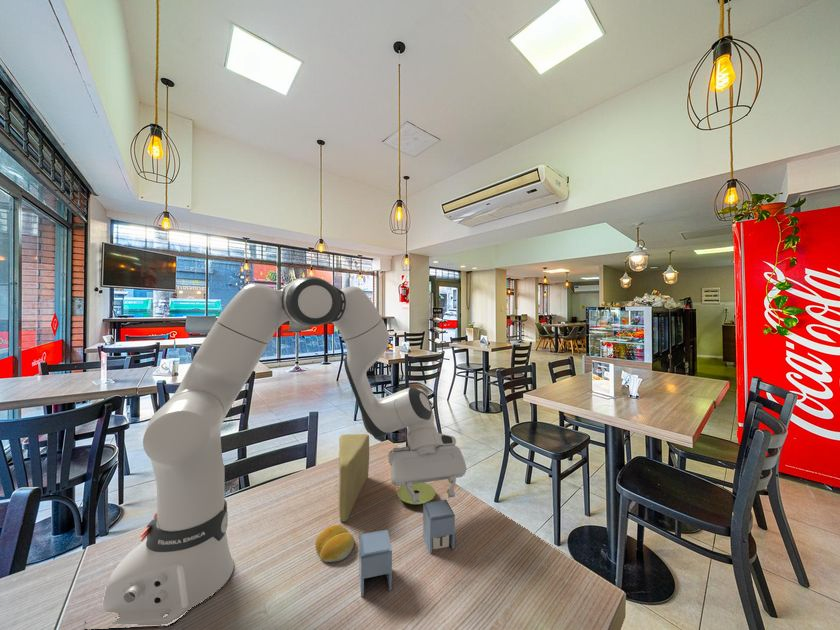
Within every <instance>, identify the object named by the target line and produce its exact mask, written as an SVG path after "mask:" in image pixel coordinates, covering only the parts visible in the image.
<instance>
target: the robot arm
mask: <svg viewBox="0 0 840 630" xmlns="http://www.w3.org/2000/svg"><path fill="white" fill-rule="evenodd" d="M290 321H293V322H295V323H296V324H299V325H303V326H307V327H318V326H322V325H327V324H330V323H332V324H333V325H334V326H335V328H336V329H337V331H338V332H339V334H340V336H341V338H342V340H343V342H344V344H345V346H346V351H347V353H346V355H345V357H344V359H343V362H344V363H343V364H344V370H345V373H346V374H345V375H346V376H347V380H348V382H349V385H350V387H351V390H352V392H353V395H354V398H355V401H356V403H357V405H358V408H359V411H360V415H361V419H362V422H363V423H362V424H363V426H364V428H365V430H366V432H367V433H369V434H370V435H371V436H373V437H375V438H378V439H379V438H380V439H381V438H384V437H385V436H387V435H389V434H392V433H393V432H396V431H399V430H401V429H405V428H406V430H407V433H406V439H407V446H402V447H395V448H392V449H391V450H390V451H389V452H388V456H387V457H388V463H389V465H390V466H391V468H390V469H391V470H390V473H391V474H390V479H391V484H392V485H393V486H394V487H401V486H403V485H406V490H407V491H408V493H409V494H410V495H411V496H412V502H413V504H412V505H416V504H415V503H419V498H418V497H419V494H415V493H414V491H413V490H412V486H413V484H417V483H431V482H437V481H438V482H439V481H443V480H448V483H449V484H450V487H449V488H448V489H447V490H446V494H447V498H449V499H450V498H455V497H456V492H455V485H456V482H457V478H462V477H464V476H465V474H466V473H467V470H468V469H467V464H466V461H465V459H464V456H463V454H462V451H461V449H460V447H458V445H456V444H457V440H456V439H457V438H456V437H455V436H453V435H449V434H445V433H444V434H443V433H440V432H438V430H437V427H436V426H435V422H434V421H435V416H434V411H433V407H432V404H431V400H430V399H429V397H428V394H427V393H426V391H425V390H423V389H421V388H416V387H413V386H412V387H407V388H404V389H402V390H400V391H397V392H394V393H392V394H389V395H386V396H384V397H382V398H378V397H375V395H374V392H373V390H372V387H371V384H370V381H369V378H368V376H367V372H368V371H369V369H370V368H372V366H373V365H374V364H376V363H377V362H378V361H379V359H381V357H382V356H383V354H384V353H385V352H386V350H387V348H388V345H389V341H390V334H389V331H388V328H387V325H386V323H385V322H384V320H383V318H382V316H381V314H380V313H379V311H378V309H377V308H376V306H375V304H374V303H373V302H372V300H371V299H370V298H369V296H368V295H367V294H366V292H365V291H364V290H363V289H361V288H360V287H357V286H347V287H342V288H341V289H339V287H336V286H335V285H334V284H332V283H330V282H328V281H327V280H325V279H322V278H320V277H316V276H304V277H302V276H301V277H298V278H295V279H293V280H292V281H290V282H288V283H286V284H285V285H283V286H282V287H279V288H278V289H275V288H273V287H271V286H268V285H267V284H263V283H250V284H246V285H244V286H243V287H242V288H241V289H240V290H239V291H238V292H237V293H236V294H235V295H234V297H233V298H232V299H231V300H230V301H229V303H227V305H226V306H225V308H224V309H223V310H222V311H221V312H220V314H219V316H218V318H217V319H216V321H215V322H214V324H213V325H212V327H211V329H210V330H209V331H208V333H207V335H206V337H205V339H204V340H203V341H202V343H201V344H200V347H199V348H198V349H197V351H196V353H195V355H194V356H193V358H192V360H191V363H190V365H189V367H188V369H187V371H186V373H185V374H184V377H183V379H182V380H181V382H180V384H179V385H178V387H177V389H176V391H175V392H174V393H173V395H172V396H171V397H170V398H169V399H168V400H167V401H166V402H165V403H164V404H163V405H162V406H160V408H159V409H158V410H157V411H156V412H154V414H153V415H152V416H151V418H150V419H149V421H148V423H147V426H146V429H145V431H144V435H143V438H142V446H143V450H144V452H145V454H146V456H147V457H148V458H149V459H150V462H151V463H150V464H151V466H152V470H153V473H154V478H155V484H156V510H157V511H156V513H155V514H154V516H153V519H152V520H151V521H150V522H149V523H148V524H147V525H146V528H145V530H144V531H143V532H142V534H141V535H140V537H141V538H140V543H139V544H138V545H136V546H135V547H134V548H133V549H132V550H130V551H129V552H128V553H127V554H126V556H124V558H122V560H121V561H120V562H119V563H118V564H117V566H116V567H115V568H114V570H113V571H112V573H111V574H110V576H109V578H108V581H107V582H106V586H105V588H104V589H105V593H104V598H103V604H102V610H103V611H107V612H115V613H118V615H119V616H118V617H120V618H119V619H117V621H115V622H111V623H112V624H138V625H161V624H168V623H170V622H172V621H173V620H175V619H177V618H179V617H180V616H181V615H183V614H184V613H185V612H186V611H188V610H189V609H190V608H192V607H193V606H195V605H197V604H199V603H200V602H201V601H204V600H205V599H206V598H208V597H209V596H211V595H212V594H213V593H215V592H216V591H217V590H218V589H219V590H220V589H222V588H221V587H224V585H225V584H227V582H228V580H229V579H230V577H231V576H232V574H233V572H234V568H235V563H234V560H233V558H232V555H231V552H230V548H229V542H228V537H227V529H228V524H229V523H228V522H229V513H228V502H227V500H226V499H225V495H226V492H225V491H226V490H225V489H226V487H225V486H226V485H225V479H226V478H225V475H226V474H225V472H226V471H225V464H224V460H223V459H224V458H223V451H222V440H221V436H222V435H221V434H222V433H221V431H222V427H223V423H224V421H225V419H226V416H227V415H228V412H229V411H230V409H231V408H232V406H233V404H234V403H235V401H236V399H237V397H238V396H239V394H240V392H241V391H242V389H243V388H244V386H245V384H246V383H247V382H248V380H249V378H251V375H252V373H253V372H254V370H255V369H256V367H257V365H258V363H259V361H260V360H261V358H262V357H263V355H264V353H265V351H266V349H267V348H268V346H269V344H270V343H271V341H272V339H273V337H274V335H275V333H276V331H278V329H280V327H281V326H282V325H283V324H285V323H286V322H290ZM145 538H146V539H145ZM219 590H218V591H219ZM218 591H217V592H218ZM217 592H216V593H217ZM216 593H215V594H216ZM212 596H213V595H212ZM212 596H211V597H212ZM208 599H209V598H208ZM205 601H206V600H205ZM205 601H204V602H205ZM200 604H201V603H200ZM200 604H199V605H200ZM197 606H198V605H197ZM195 607H196V606H195ZM192 609H193V608H192ZM188 612H189V611H188ZM165 614H168V616H166V617H164V618H163V616H164V615H165ZM115 618H117V617H115Z"/></svg>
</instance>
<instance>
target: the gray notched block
mask: <svg viewBox="0 0 840 630" xmlns="http://www.w3.org/2000/svg"><path fill="white" fill-rule="evenodd" d="M358 540H359V541H358V545H359V546H358V547H359V548H358V551H359V552H358V554H359V555H358V574H359V575H358V576H359V589H360V597H361V598H363V597H364V595H365V581H364V580H365V579H369V578H374V577H378V576H384V575H386V580H387V587H388V590H389V591H392V590H393V585H392V584H393V579H392V578H393V547H392V544H391V540H390V535H389V531H388V529H384V530H378V531H377V530H376V531H371V532H367V533H366V532H365V533H361V534H359V537H358Z"/></svg>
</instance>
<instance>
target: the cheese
mask: <svg viewBox="0 0 840 630" xmlns="http://www.w3.org/2000/svg"><path fill="white" fill-rule="evenodd" d="M338 441H339V445H338V446H339V448H338V449H339V451H338V466H339V467H338V474H339V475H338V476H339V479H338V480H339V481H338V510H339V511H338V513H339V514H338V515H339V521H340V522H343V523H344V522H347V521H348V519H349V516H350V514H351V512H352V510H353V508H354V505H355V503H356V501H357V499H358V496H359V494H360V492H361V491H362V488H363V486H364V484H365V483H366V481H367V479H368V478H369V468H370V467H369V466H370V436H369V434H366V433H359V434H358V433H353V434H352V433H349V434H348V433H347V434H342V435H340V436H339V439H338Z"/></svg>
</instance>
